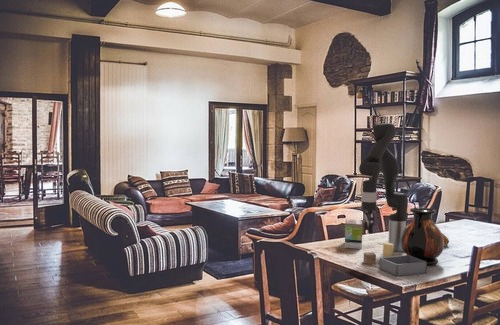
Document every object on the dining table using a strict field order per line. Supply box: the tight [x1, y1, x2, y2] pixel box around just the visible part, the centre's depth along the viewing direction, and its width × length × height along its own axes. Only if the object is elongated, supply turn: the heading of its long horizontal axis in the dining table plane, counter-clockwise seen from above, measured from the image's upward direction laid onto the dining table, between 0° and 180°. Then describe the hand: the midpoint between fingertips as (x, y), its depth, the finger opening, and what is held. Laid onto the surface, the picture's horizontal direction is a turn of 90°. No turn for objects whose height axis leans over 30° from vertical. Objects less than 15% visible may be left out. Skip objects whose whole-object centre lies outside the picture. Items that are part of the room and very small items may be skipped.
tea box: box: [344, 219, 364, 250], centre depth 280 cm, size 15×10×15 cm
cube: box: [363, 251, 377, 265], centre depth 242 cm, size 5×5×5 cm
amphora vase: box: [401, 207, 445, 267], centre depth 244 cm, size 22×22×28 cm
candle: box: [382, 242, 394, 257], centre depth 242 cm, size 5×5×10 cm
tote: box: [378, 254, 428, 277], centre depth 228 cm, size 17×13×6 cm
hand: (368, 231), depth 241 cm, fingers open, 8 cm apart
